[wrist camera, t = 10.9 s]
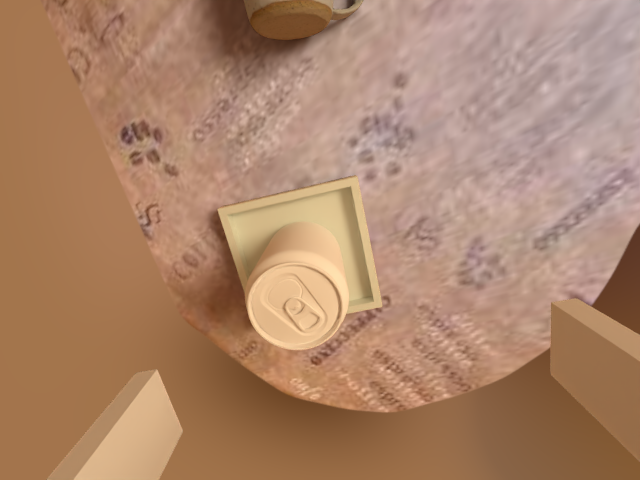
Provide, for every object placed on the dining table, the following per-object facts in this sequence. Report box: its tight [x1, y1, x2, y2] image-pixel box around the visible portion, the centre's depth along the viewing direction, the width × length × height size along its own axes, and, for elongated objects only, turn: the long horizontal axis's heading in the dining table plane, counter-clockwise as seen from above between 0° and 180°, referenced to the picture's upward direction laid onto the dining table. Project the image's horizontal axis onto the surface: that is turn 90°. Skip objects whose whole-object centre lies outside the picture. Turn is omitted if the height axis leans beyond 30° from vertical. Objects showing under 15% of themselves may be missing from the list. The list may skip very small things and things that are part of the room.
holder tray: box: [217, 175, 383, 314], centre depth 33 cm, size 15×15×2 cm
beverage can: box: [245, 221, 349, 350], centre depth 28 cm, size 8×8×12 cm
